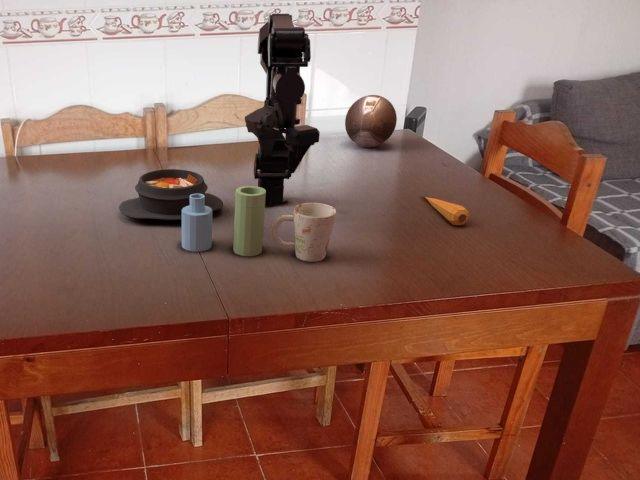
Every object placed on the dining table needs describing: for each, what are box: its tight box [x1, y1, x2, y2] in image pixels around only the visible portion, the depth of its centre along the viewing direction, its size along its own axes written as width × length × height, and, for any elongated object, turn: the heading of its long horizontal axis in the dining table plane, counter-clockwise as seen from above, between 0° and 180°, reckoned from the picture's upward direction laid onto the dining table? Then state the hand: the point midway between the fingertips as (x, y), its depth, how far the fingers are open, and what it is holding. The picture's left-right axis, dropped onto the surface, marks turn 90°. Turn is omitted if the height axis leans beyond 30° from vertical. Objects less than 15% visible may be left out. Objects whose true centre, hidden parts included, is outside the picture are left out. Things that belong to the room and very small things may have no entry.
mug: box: [270, 202, 337, 263], centre depth 142 cm, size 8×13×10 cm, turn 78°
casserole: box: [118, 168, 224, 222], centre depth 164 cm, size 25×19×8 cm
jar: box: [232, 185, 266, 257], centre depth 143 cm, size 6×6×13 cm
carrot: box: [424, 196, 470, 226], centre depth 165 cm, size 20×4×4 cm, turn 6°
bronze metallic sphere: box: [344, 94, 398, 148], centre depth 210 cm, size 15×15×15 cm
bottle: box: [181, 194, 213, 253], centre depth 146 cm, size 6×6×11 cm
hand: (278, 167), depth 153 cm, fingers open, 9 cm apart
